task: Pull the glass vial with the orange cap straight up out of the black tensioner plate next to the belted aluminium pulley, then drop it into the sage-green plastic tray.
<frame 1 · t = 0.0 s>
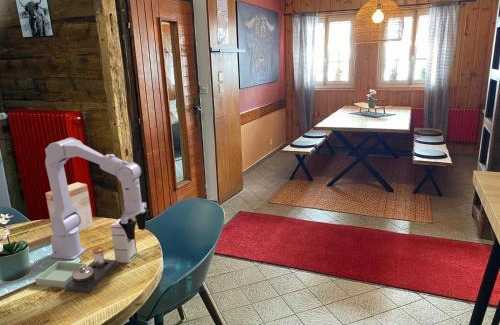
hand: (136, 234, 136), 10 cm above the table, tool pointing down, fingers open, 7 cm apart
glass vial: (100, 270, 132), resting in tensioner
syrup box: (126, 259, 140), on the table
tray: (62, 277, 129), on the table
coffeecake box: (74, 231, 164), on the table
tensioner: (93, 277, 128), on the table
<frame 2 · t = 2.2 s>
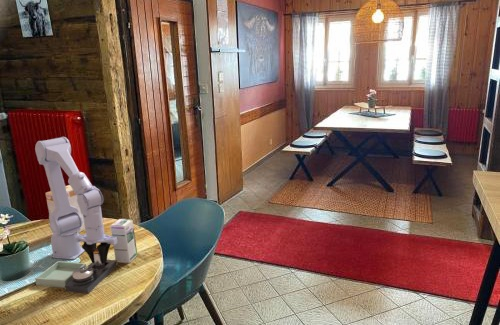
hand: (99, 261, 131), 3 cm above the table, tool pointing down, fingers closed on glass vial, 3 cm apart
glass vial: (100, 270, 132), resting in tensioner, touching gripper
everything else where it was.
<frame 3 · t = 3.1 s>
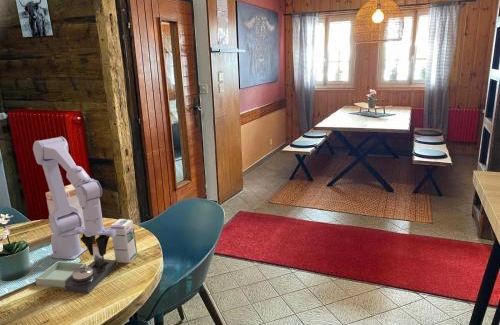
hand: (98, 254, 131), 6 cm above the table, tool pointing down, fingers closed on glass vial, 3 cm apart
glass vial: (99, 263, 132), point 3 cm above the table, touching gripper
everything else where it was.
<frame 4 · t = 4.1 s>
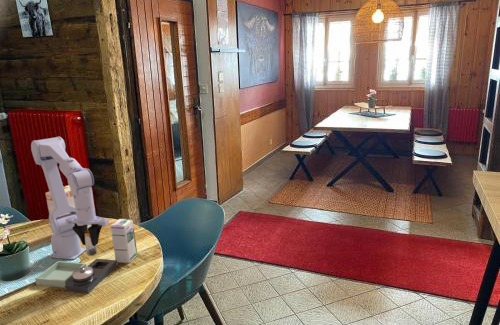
hand: (90, 244, 129), 10 cm above the table, tool pointing down, fingers closed on glass vial, 3 cm apart
glass vial: (92, 253, 130), point 7 cm above the table, touching gripper
everything else where it was.
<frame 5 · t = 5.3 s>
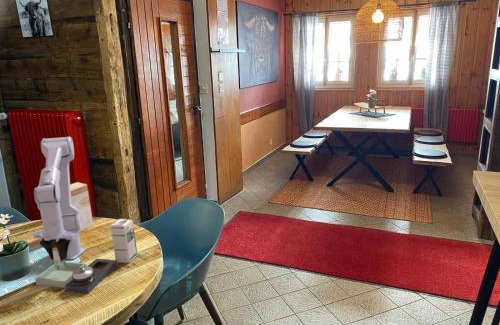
hand: (59, 258, 127), 7 cm above the table, tool pointing down, fingers closed on glass vial, 3 cm apart
glass vial: (60, 267, 128), point 4 cm above the table, touching gripper
everything else where it was.
when the fingers open (6 cm above the table, at t = 6.2 s): glass vial drops 2 cm, resting on tray.
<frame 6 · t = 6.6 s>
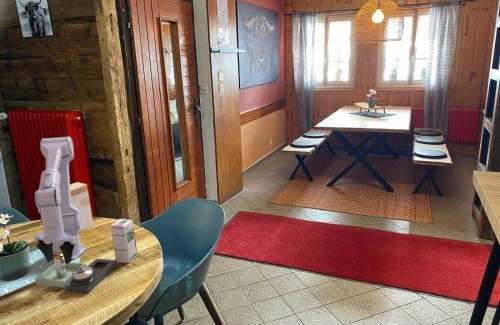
hand: (59, 261, 127), 6 cm above the table, tool pointing down, fingers open, 6 cm apart
glass vial: (62, 275, 129), point 1 cm above the table, touching tray
everything else where it was.
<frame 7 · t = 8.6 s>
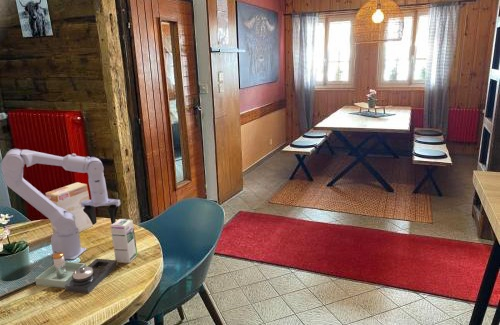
hand: (104, 223, 147), 10 cm above the table, tool pointing down, fingers open, 7 cm apart
nothing on the table moved.
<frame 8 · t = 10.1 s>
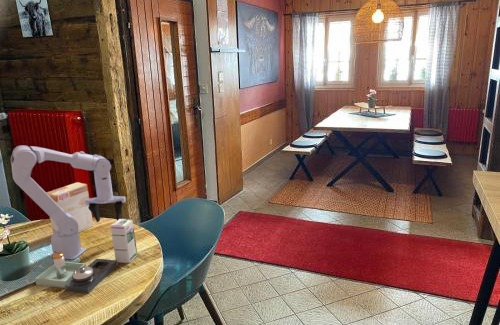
hand: (108, 220, 150), 9 cm above the table, tool pointing down, fingers open, 7 cm apart
nothing on the table moved.
at the end: glass vial inside the target area on the tray (0.0 cm from its centre), point 0.5 cm above the tray's base; the gripper is holding nothing; glass vial moved 12.1 cm from its start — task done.
